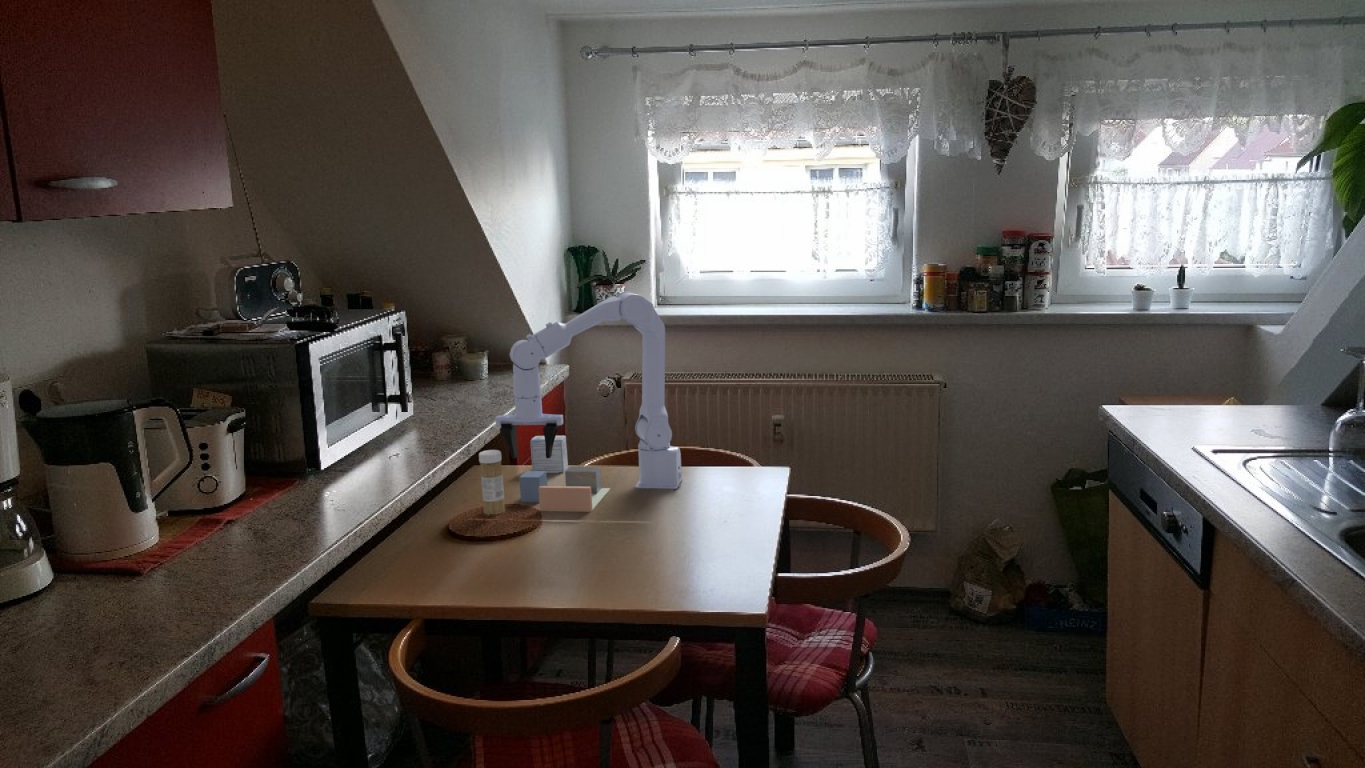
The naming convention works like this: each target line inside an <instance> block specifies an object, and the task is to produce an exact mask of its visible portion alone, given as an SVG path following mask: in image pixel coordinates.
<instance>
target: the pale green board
mask: <svg viewBox="0 0 1365 768" xmlns="http://www.w3.org/2000/svg"><path fill="white" fill-rule="evenodd" d="M610 490H611V488H610V487H601V490H600V491H599V492H598V493H597V494H592V492H591V487H586V486H566V485H565V486H564V485H563V486H561V485H560V486H559V485H557V486H556V485H547V486H540V487H539V501H540V502H539V511H540V512H582V513H584V512H588V513H589V512H592V511H593V510H594V509H595V508H596V507H597V505H598V504H599V503H600V501H601V500H602V499H603V498H604V497H605V496H606V494H607V493H608V492H609V491H610Z"/></svg>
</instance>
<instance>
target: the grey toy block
mask: <svg viewBox="0 0 1365 768" xmlns="http://www.w3.org/2000/svg"><path fill="white" fill-rule="evenodd" d="M564 475H565V476H564V477H565V486H586V487H591V492H592V494H597V493H598V492H599V491H600V490H601V488H602V476H601V475H602V474H601V466H568V469H567V470H566V471H565V473H564Z"/></svg>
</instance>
